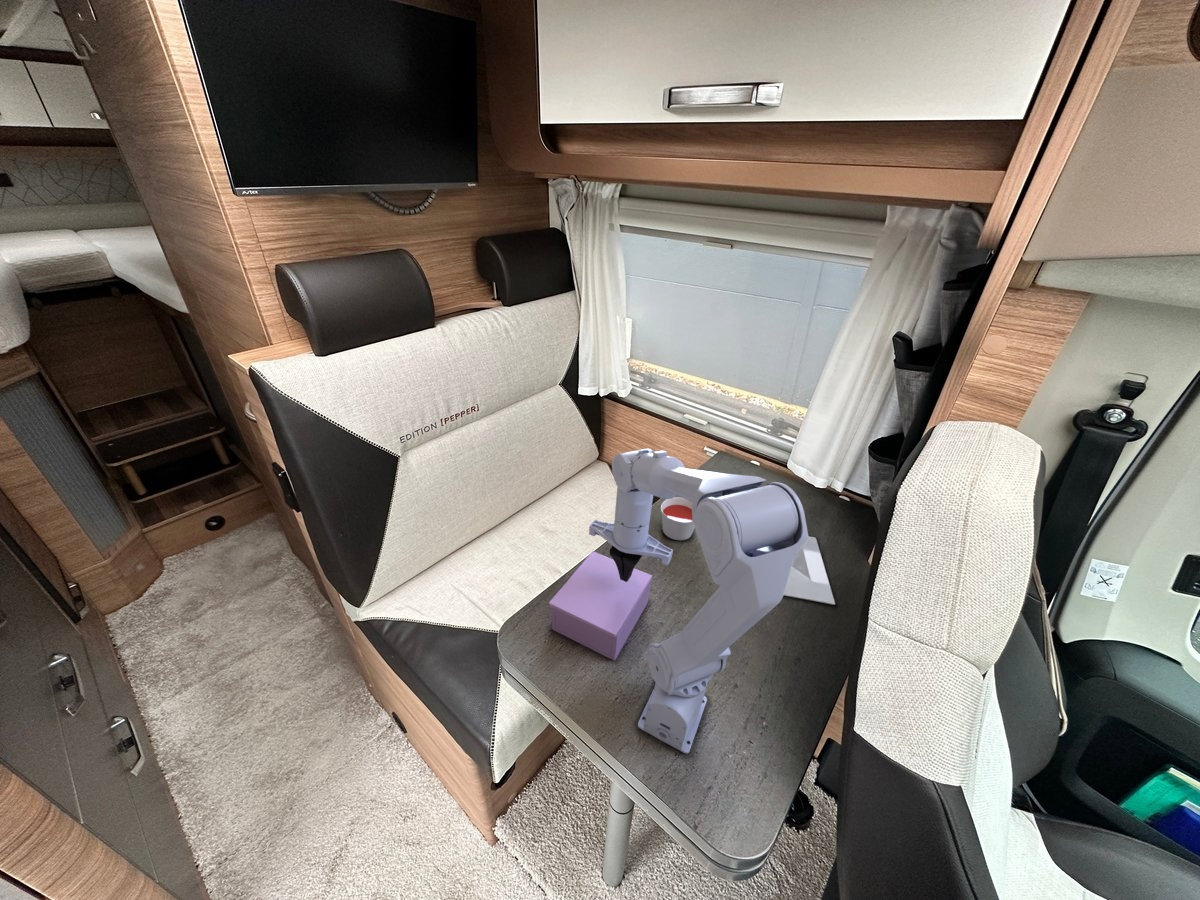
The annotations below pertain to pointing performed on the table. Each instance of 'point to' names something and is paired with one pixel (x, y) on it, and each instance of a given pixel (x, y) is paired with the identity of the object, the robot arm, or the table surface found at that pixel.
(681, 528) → the candle
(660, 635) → the table surface
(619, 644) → the open box
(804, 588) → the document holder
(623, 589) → the purple box lid
